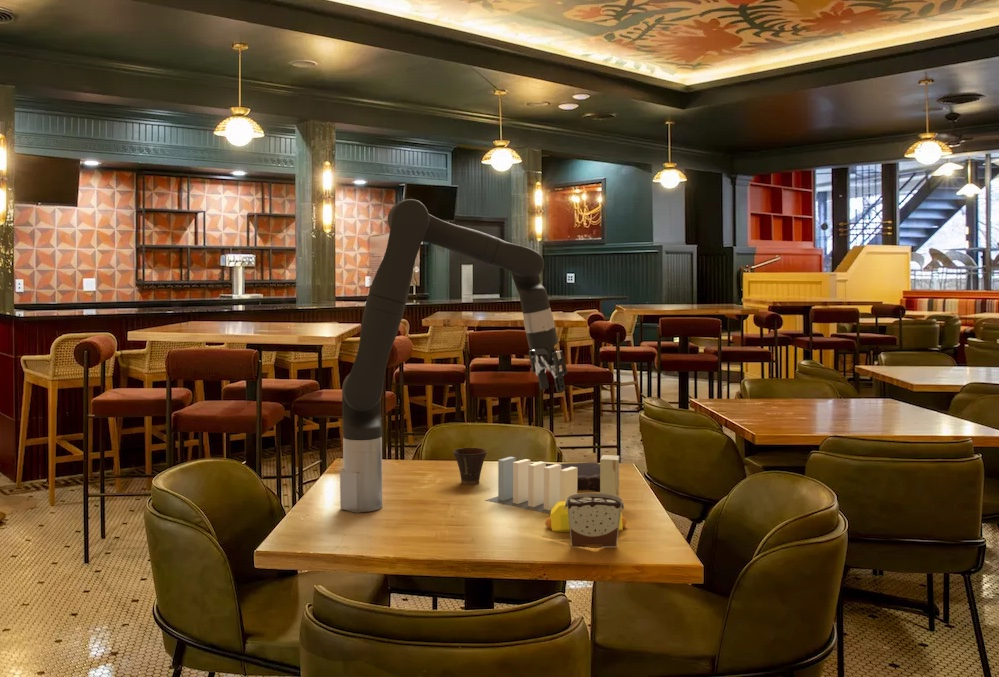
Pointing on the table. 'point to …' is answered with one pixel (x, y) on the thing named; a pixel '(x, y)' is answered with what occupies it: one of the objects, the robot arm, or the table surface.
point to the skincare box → (609, 475)
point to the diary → (585, 475)
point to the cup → (470, 464)
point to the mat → (520, 505)
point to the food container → (594, 519)
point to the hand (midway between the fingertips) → (553, 390)
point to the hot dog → (566, 518)
